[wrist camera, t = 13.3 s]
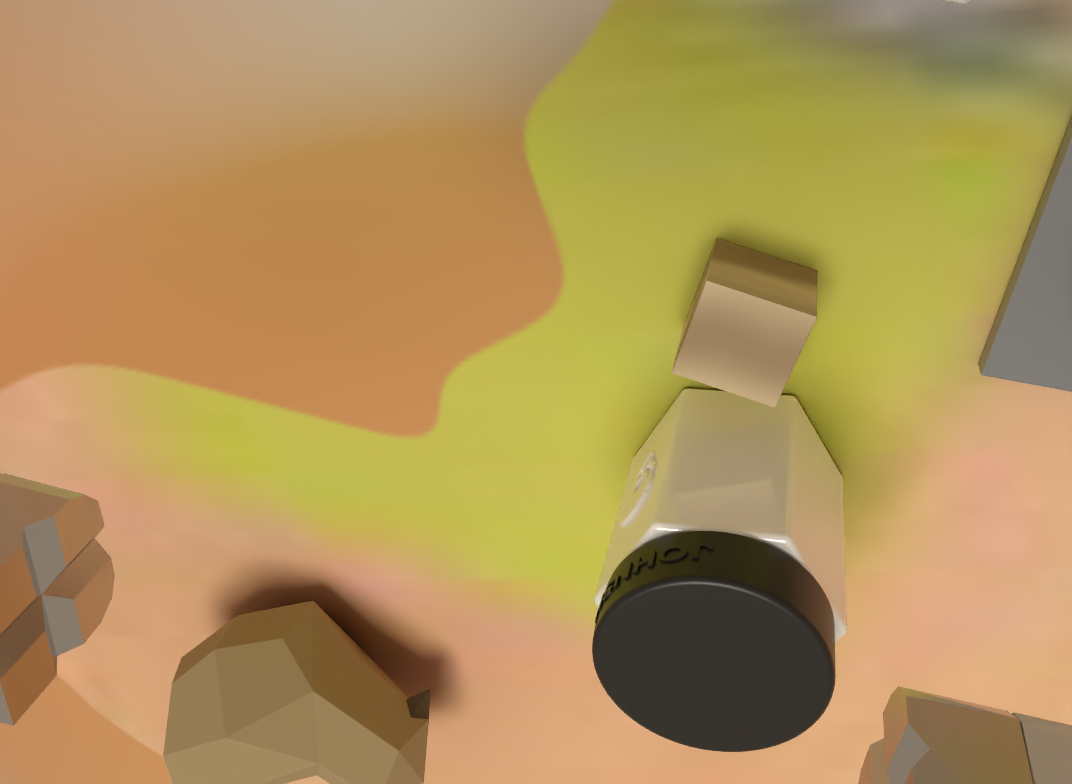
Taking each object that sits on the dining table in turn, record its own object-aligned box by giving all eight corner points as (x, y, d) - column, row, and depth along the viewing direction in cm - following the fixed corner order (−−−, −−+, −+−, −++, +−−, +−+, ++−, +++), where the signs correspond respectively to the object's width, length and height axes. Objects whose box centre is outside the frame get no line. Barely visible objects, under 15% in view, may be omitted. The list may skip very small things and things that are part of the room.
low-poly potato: (184, 626, 59) (241, 816, 58) (71, 675, 48) (140, 909, 47) (418, 551, 57) (480, 746, 56) (355, 584, 46) (432, 827, 45)
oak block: (716, 237, 38) (706, 280, 35) (817, 269, 38) (816, 316, 34) (684, 324, 40) (671, 372, 37) (778, 355, 40) (774, 407, 37)
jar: (708, 344, 40) (671, 528, 30) (879, 441, 41) (897, 655, 31) (604, 487, 45) (544, 685, 35) (758, 573, 46) (740, 792, 36)
